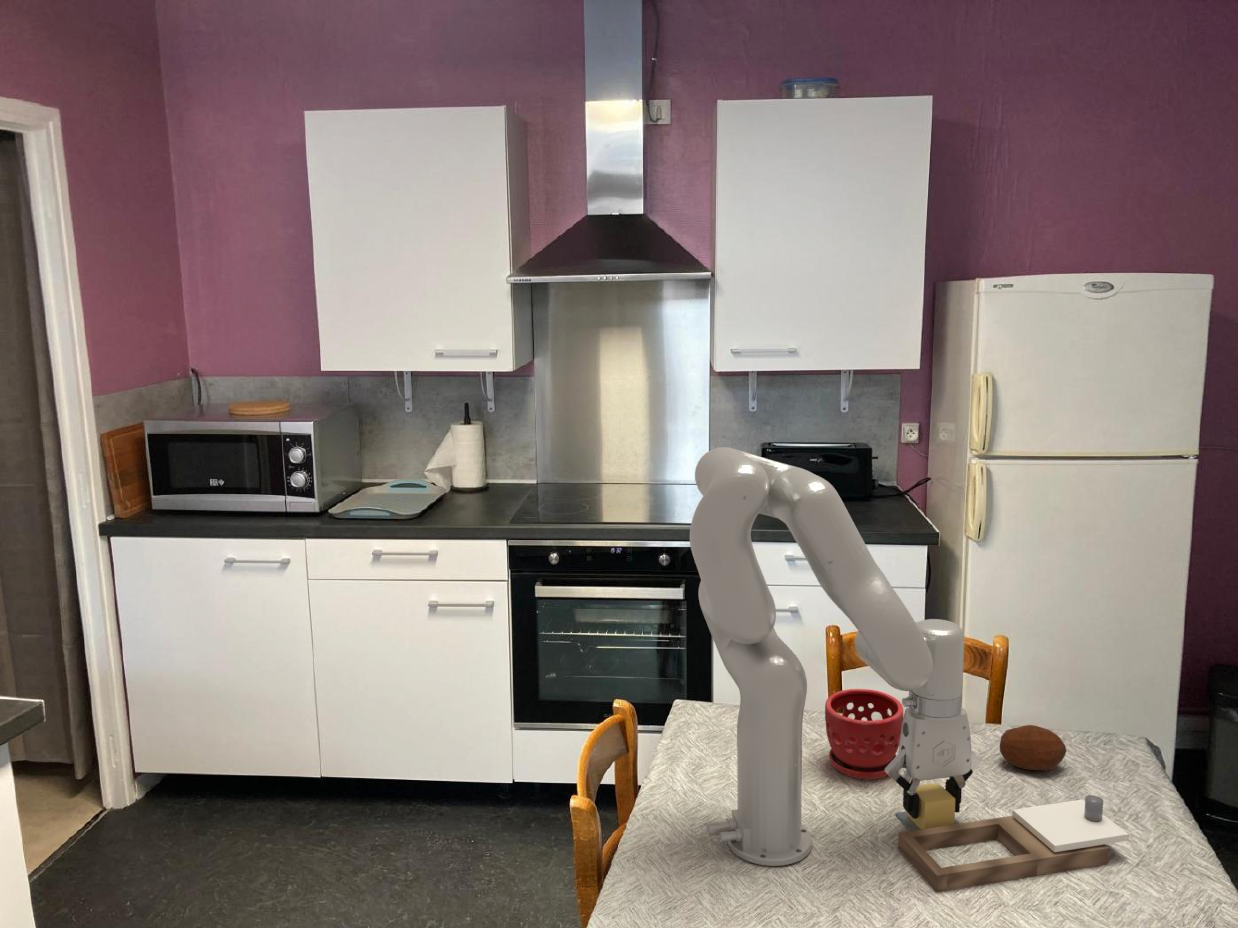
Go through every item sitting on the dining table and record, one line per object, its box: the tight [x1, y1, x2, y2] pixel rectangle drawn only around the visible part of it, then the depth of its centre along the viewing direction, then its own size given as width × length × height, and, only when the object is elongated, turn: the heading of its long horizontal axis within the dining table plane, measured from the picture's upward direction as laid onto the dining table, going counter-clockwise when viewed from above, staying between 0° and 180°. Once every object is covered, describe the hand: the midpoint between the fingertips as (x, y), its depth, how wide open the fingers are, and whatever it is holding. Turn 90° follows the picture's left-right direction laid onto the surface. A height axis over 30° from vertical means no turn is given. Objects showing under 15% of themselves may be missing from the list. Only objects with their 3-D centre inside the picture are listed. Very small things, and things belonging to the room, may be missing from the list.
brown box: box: [897, 815, 1110, 893], centre depth 142 cm, size 27×11×2 cm, turn 102°
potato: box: [999, 724, 1067, 771], centre depth 167 cm, size 8×11×8 cm
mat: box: [894, 810, 960, 831], centre depth 150 cm, size 8×8×1 cm
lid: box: [1011, 794, 1130, 852], centre depth 143 cm, size 12×10×4 cm
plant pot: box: [824, 688, 904, 780], centre depth 168 cm, size 13×13×12 cm
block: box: [908, 782, 956, 829], centre depth 150 cm, size 5×5×5 cm
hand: (931, 809), depth 150 cm, fingers open, 6 cm apart
